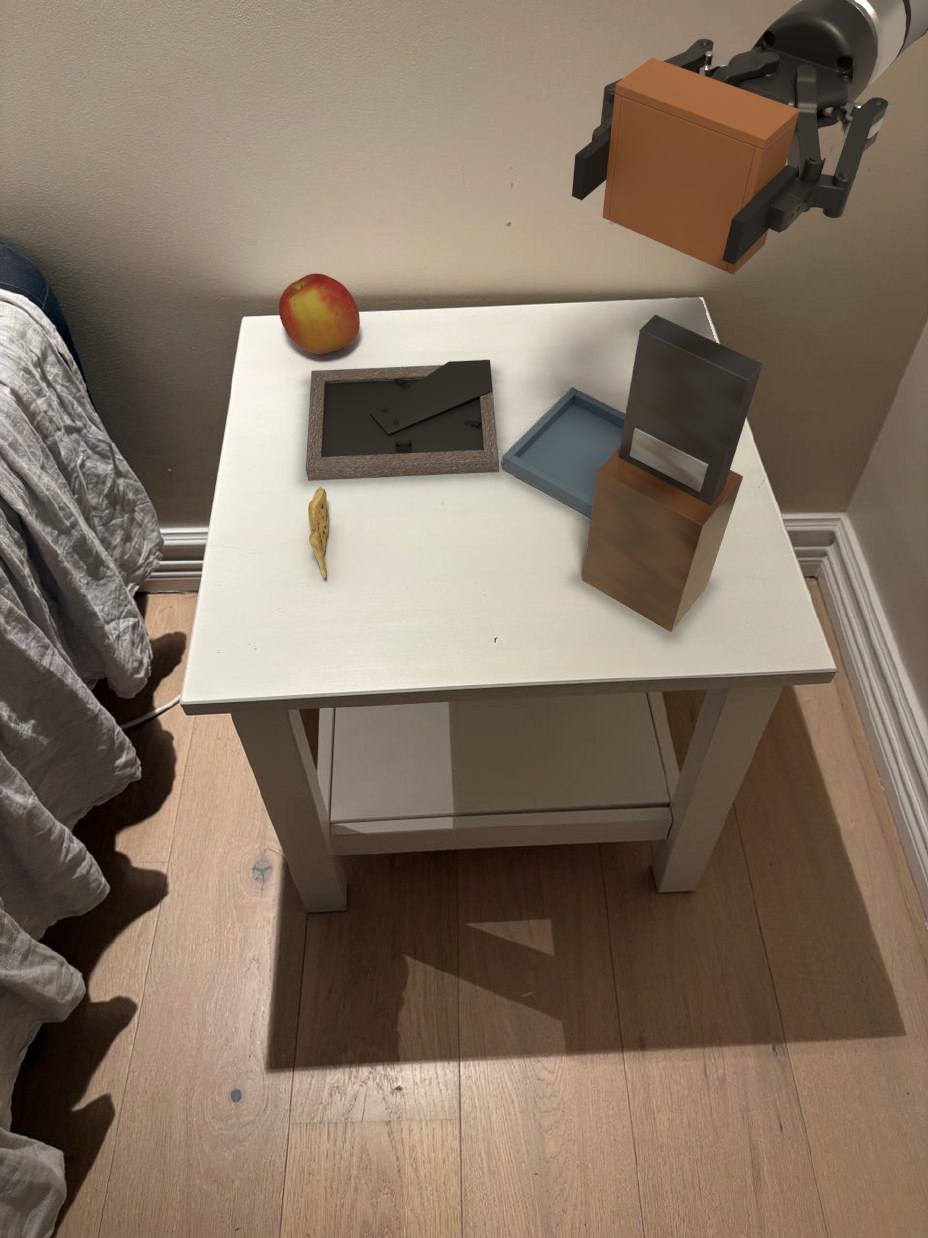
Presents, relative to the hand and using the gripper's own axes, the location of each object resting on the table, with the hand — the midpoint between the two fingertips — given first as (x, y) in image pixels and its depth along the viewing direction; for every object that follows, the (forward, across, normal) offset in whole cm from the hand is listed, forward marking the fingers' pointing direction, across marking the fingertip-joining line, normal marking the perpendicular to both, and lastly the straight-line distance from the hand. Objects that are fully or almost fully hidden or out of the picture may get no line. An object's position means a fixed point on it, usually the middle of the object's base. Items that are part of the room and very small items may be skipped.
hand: (653, 208), depth 57 cm
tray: (-9, +6, -34) cm, 36 cm away
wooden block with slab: (-1, -5, -34) cm, 35 cm away
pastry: (+14, +20, -34) cm, 42 cm away
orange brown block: (-5, 0, -4) cm, 6 cm away
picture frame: (-2, +24, -34) cm, 42 cm away
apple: (-6, +38, -34) cm, 52 cm away
